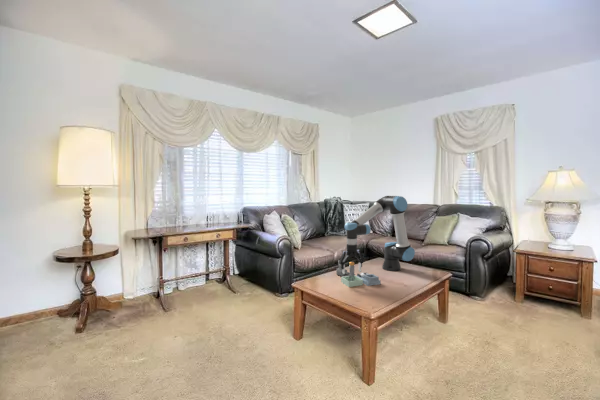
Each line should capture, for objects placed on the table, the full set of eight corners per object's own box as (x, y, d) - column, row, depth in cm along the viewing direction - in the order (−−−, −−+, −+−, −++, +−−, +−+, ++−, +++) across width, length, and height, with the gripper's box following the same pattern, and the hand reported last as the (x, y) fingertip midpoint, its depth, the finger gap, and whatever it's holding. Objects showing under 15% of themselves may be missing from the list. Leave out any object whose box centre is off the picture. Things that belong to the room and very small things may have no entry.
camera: (341, 258, 240) (355, 263, 228) (341, 272, 241) (355, 277, 229) (334, 260, 235) (347, 264, 223) (334, 274, 236) (347, 279, 224)
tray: (354, 280, 222) (354, 275, 222) (362, 285, 211) (362, 279, 211) (341, 281, 218) (341, 277, 218) (348, 287, 207) (348, 281, 207)
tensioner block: (355, 278, 225) (355, 271, 225) (367, 277, 229) (367, 270, 229) (367, 285, 209) (367, 278, 209) (380, 284, 213) (380, 276, 213)
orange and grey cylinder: (352, 281, 217) (352, 261, 216) (355, 282, 214) (355, 262, 213) (348, 281, 216) (348, 262, 215) (350, 283, 212) (350, 263, 212)
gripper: (363, 241, 221) (363, 269, 222) (334, 244, 213) (334, 272, 214) (369, 243, 214) (369, 272, 215) (338, 246, 206) (338, 275, 207)
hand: (351, 272), depth 214 cm, fingers open, 13 cm apart
